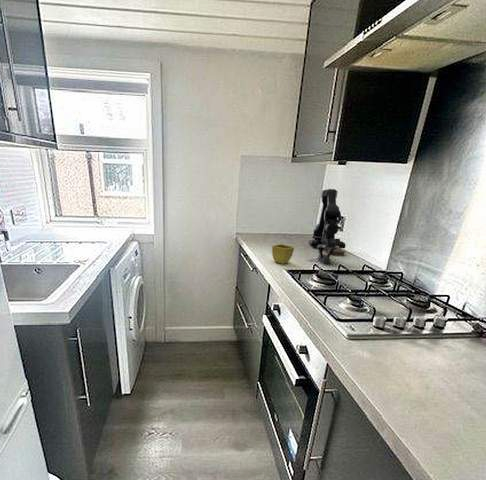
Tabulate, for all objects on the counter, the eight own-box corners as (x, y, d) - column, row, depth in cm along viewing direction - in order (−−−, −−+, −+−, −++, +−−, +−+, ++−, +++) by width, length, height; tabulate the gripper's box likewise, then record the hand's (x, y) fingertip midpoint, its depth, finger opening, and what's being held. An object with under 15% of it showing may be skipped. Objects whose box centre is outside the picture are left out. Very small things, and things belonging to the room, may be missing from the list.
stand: (324, 249, 199) (324, 245, 198) (336, 250, 198) (337, 246, 197) (330, 255, 185) (331, 251, 184) (344, 255, 185) (344, 251, 184)
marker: (317, 258, 176) (318, 253, 175) (323, 258, 176) (324, 253, 175) (323, 264, 166) (324, 258, 165) (329, 264, 165) (330, 258, 164)
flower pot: (279, 259, 171) (280, 243, 168) (292, 262, 165) (294, 246, 162) (270, 261, 165) (271, 245, 162) (283, 265, 159) (285, 249, 156)
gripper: (315, 233, 158) (311, 261, 163) (351, 235, 157) (346, 264, 162) (310, 229, 168) (306, 256, 173) (344, 231, 168) (339, 258, 173)
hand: (324, 258), depth 170 cm, fingers closed on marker, 3 cm apart
